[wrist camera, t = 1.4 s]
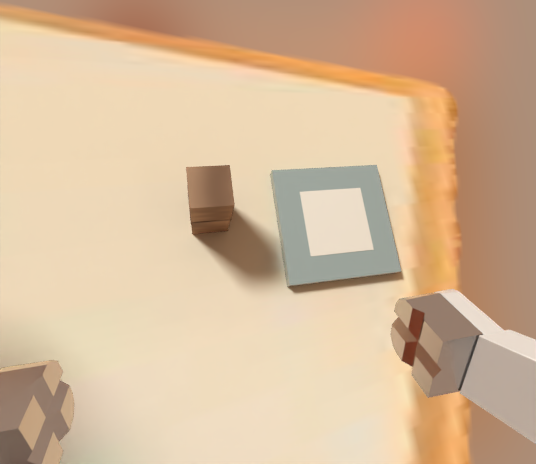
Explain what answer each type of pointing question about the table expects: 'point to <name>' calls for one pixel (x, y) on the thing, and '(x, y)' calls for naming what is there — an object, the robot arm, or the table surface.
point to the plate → (333, 224)
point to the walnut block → (210, 198)
